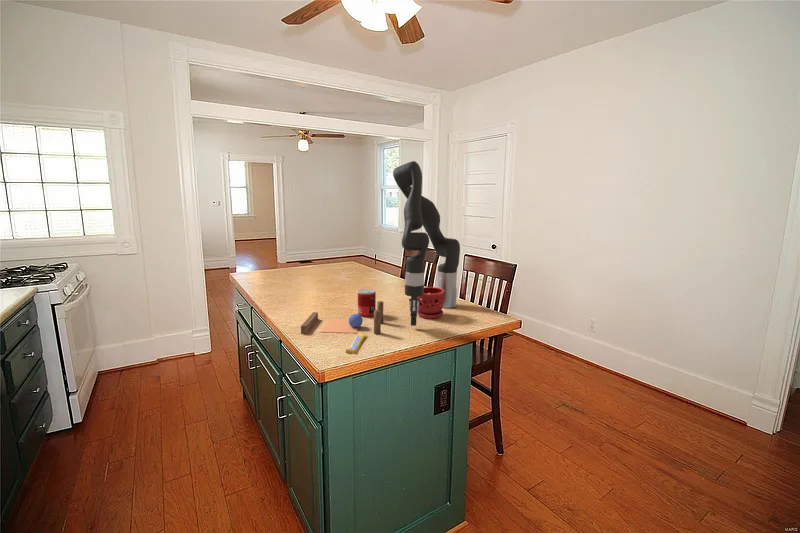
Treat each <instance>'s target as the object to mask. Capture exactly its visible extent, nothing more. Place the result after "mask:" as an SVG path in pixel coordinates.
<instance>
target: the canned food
mask: <svg viewBox="0 0 800 533" xmlns="http://www.w3.org/2000/svg"><path fill="white" fill-rule="evenodd" d="M376 297H377V294H376V290H375V289H371V288H363V289H361V288H360V289H359V290H357V314H359V315H360V316H361V317H362V318H372V317H374V310H377V301H376V299H377V298H376Z"/></svg>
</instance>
